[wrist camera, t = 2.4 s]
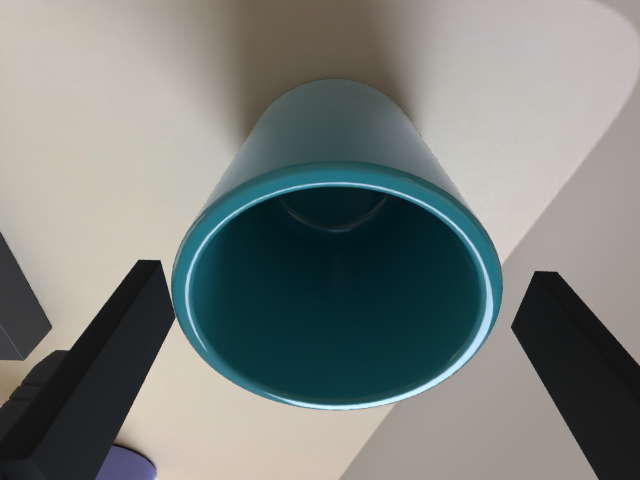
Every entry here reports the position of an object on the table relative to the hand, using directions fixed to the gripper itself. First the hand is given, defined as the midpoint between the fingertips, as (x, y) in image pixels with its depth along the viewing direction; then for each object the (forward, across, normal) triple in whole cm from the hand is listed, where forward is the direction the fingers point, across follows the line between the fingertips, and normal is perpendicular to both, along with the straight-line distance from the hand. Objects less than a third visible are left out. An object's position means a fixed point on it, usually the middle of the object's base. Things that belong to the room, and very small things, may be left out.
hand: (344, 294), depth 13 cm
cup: (+9, 0, 0) cm, 9 cm away
